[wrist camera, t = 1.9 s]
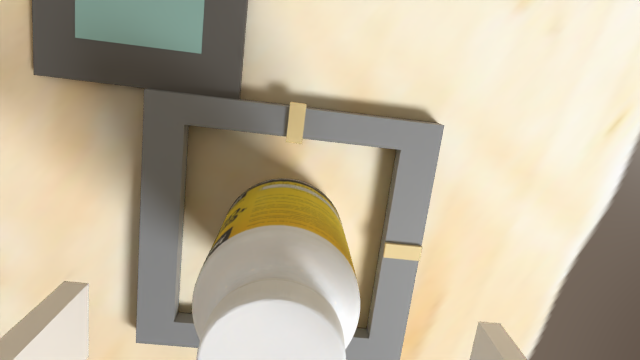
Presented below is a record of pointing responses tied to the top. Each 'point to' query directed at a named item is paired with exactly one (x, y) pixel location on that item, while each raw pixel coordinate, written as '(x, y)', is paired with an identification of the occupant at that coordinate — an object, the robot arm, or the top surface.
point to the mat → (143, 43)
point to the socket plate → (295, 123)
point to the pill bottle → (277, 279)
